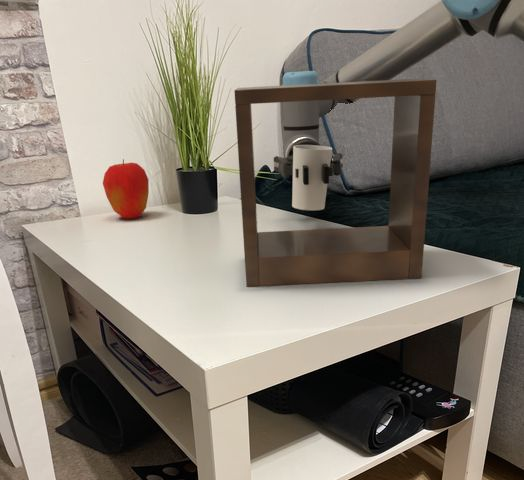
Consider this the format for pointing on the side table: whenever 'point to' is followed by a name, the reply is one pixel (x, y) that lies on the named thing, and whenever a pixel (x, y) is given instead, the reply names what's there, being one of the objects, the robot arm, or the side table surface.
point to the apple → (127, 189)
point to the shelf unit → (345, 239)
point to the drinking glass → (310, 176)
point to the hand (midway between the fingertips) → (316, 175)
